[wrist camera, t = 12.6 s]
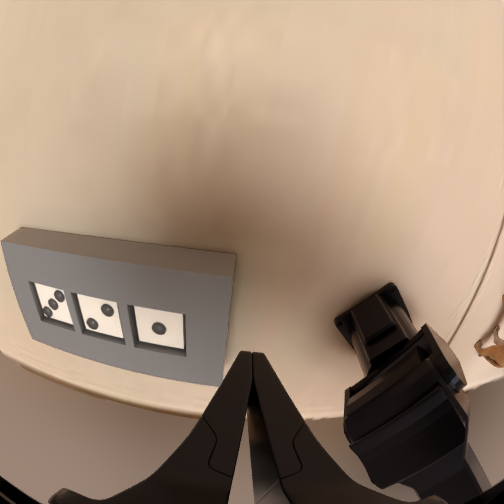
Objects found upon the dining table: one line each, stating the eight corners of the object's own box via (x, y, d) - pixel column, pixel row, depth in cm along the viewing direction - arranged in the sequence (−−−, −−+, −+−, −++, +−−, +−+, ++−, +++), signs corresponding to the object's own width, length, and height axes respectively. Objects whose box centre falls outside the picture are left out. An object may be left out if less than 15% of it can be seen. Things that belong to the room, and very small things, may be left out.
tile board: (236, 254, 21) (233, 277, 18) (224, 361, 26) (221, 387, 23) (21, 227, 20) (0, 240, 17) (46, 321, 25) (32, 338, 22)
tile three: (74, 279, 21) (63, 290, 19) (82, 313, 23) (73, 326, 21) (44, 272, 21) (33, 282, 19) (53, 305, 22) (44, 316, 21)
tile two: (124, 289, 21) (115, 303, 19) (130, 325, 23) (122, 339, 21) (86, 282, 21) (75, 294, 19) (94, 317, 23) (85, 330, 21)
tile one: (187, 299, 22) (182, 314, 20) (187, 334, 23) (183, 350, 21) (141, 291, 21) (132, 305, 20) (145, 327, 23) (138, 342, 21)
